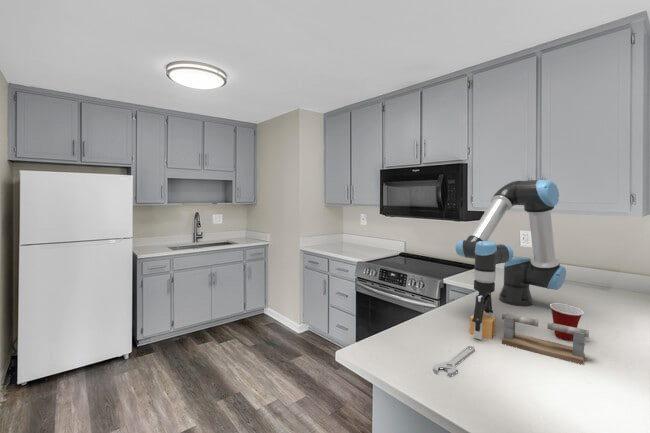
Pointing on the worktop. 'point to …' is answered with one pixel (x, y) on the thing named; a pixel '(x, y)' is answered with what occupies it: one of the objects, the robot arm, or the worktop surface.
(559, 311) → the plastic cup
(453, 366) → the adjustable wrench
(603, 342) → the worktop surface
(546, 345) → the frame
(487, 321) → the block
